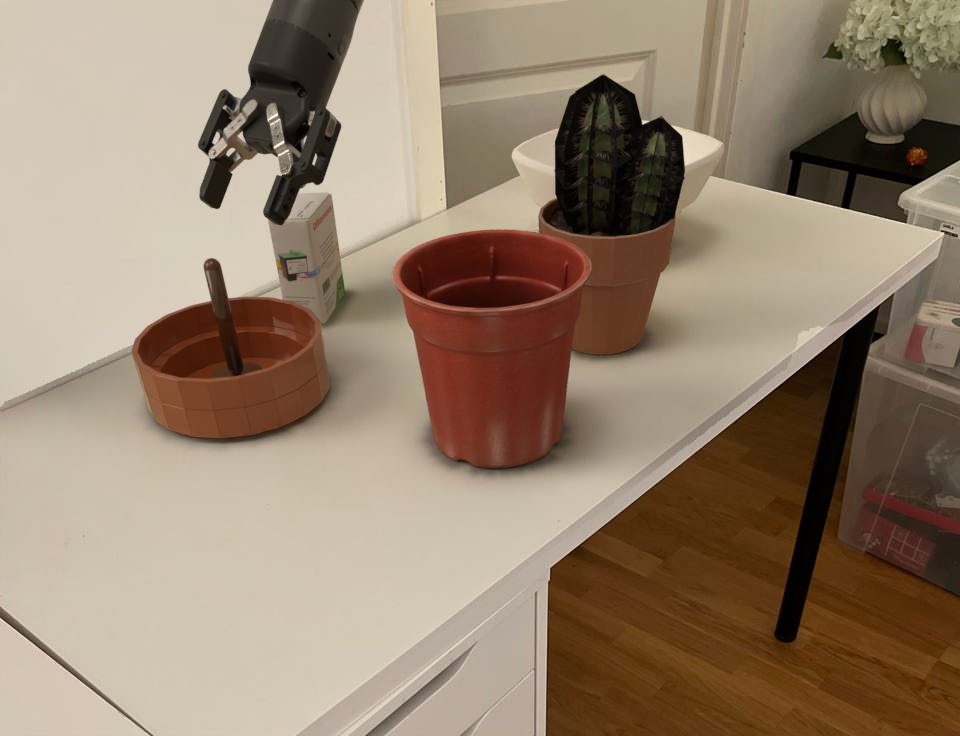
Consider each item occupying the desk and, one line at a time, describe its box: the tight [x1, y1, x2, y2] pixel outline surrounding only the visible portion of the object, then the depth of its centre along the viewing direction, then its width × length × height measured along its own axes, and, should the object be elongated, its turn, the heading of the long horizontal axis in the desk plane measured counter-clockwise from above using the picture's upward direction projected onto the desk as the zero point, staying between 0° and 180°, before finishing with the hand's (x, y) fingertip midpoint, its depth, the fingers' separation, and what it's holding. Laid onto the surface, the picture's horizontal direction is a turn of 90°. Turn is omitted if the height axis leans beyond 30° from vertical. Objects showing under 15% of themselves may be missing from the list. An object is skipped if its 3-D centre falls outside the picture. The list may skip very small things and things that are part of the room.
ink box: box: [267, 192, 346, 324], centre depth 110 cm, size 8×5×12 cm, turn 170°
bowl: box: [511, 119, 725, 223], centre depth 120 cm, size 22×22×12 cm
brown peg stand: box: [202, 257, 262, 379], centre depth 94 cm, size 5×5×13 cm
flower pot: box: [391, 228, 591, 469], centre depth 86 cm, size 16×16×16 cm
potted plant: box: [537, 73, 685, 356], centre depth 97 cm, size 14×14×25 cm
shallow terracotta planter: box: [130, 296, 331, 439], centre depth 97 cm, size 18×18×6 cm
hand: (239, 212), depth 90 cm, fingers open, 8 cm apart
